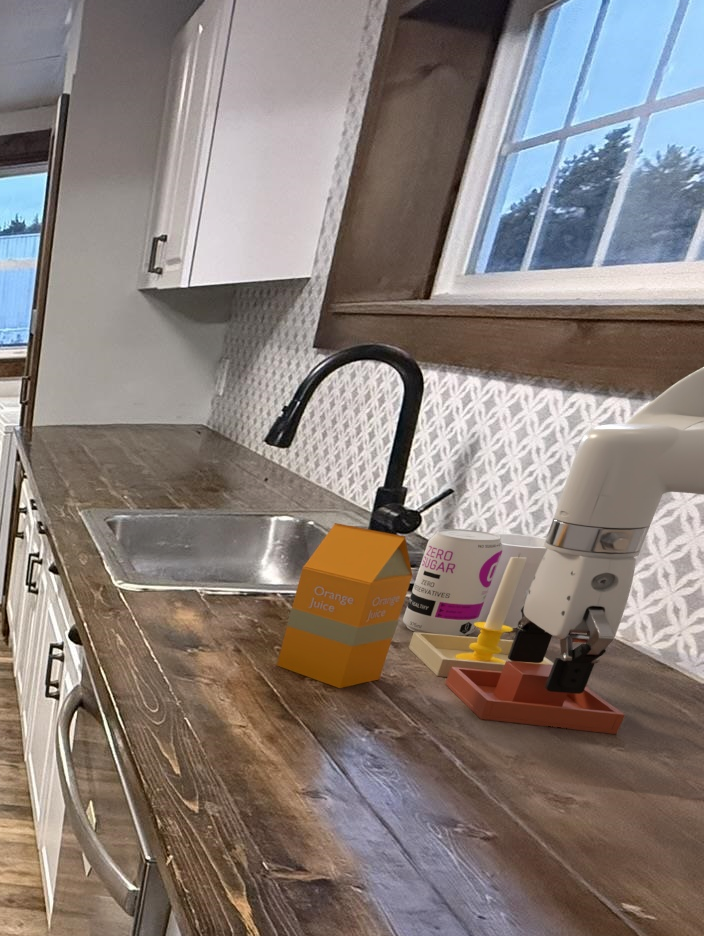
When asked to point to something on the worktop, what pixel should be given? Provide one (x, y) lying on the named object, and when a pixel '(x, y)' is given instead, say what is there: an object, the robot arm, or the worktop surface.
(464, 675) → the terracotta tray
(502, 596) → the candle
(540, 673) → the terracotta block
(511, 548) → the foam cup
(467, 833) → the worktop surface
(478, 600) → the supplement can
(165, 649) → the worktop surface
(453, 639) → the cream tray
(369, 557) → the orange juice
